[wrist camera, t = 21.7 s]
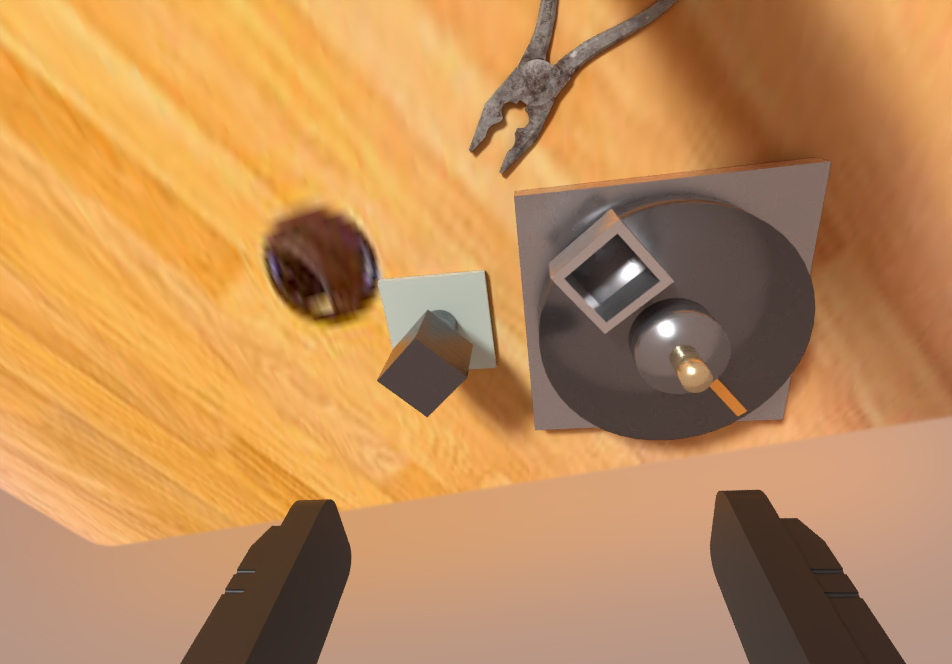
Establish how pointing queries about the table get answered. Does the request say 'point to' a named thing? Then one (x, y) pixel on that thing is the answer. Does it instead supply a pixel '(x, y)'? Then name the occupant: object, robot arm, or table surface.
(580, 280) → the chuck collar
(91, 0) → the table surface
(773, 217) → the drill stand
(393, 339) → the mat
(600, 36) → the pliers
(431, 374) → the block
